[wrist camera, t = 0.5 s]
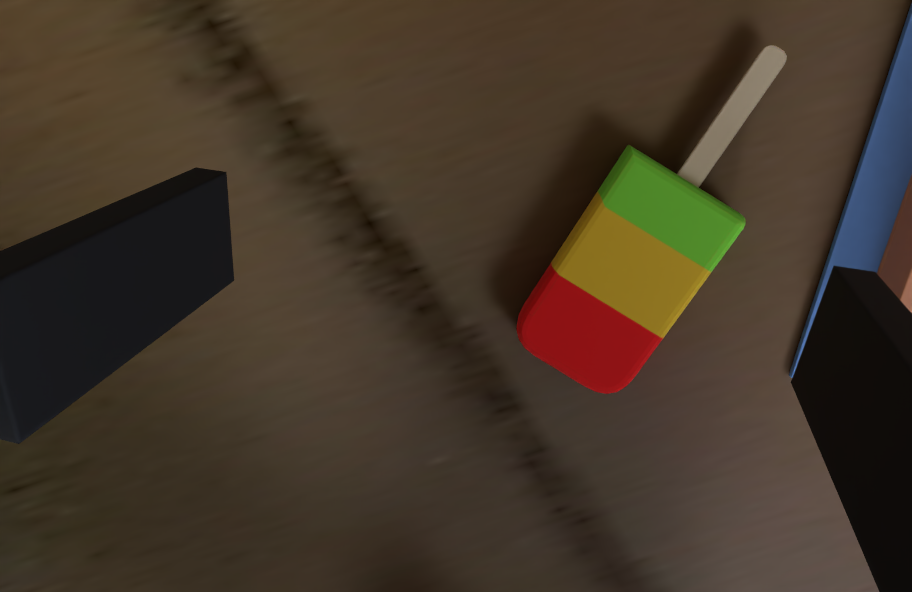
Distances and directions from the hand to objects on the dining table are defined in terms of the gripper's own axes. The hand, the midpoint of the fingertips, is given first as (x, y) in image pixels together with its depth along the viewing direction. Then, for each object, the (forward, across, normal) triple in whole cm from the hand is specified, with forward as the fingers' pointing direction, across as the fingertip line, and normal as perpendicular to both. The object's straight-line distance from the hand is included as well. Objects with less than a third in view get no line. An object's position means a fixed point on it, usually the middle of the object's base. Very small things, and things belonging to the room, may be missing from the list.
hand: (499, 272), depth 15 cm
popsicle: (+14, -5, +3) cm, 15 cm away
